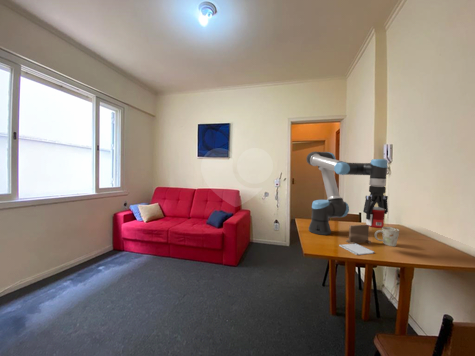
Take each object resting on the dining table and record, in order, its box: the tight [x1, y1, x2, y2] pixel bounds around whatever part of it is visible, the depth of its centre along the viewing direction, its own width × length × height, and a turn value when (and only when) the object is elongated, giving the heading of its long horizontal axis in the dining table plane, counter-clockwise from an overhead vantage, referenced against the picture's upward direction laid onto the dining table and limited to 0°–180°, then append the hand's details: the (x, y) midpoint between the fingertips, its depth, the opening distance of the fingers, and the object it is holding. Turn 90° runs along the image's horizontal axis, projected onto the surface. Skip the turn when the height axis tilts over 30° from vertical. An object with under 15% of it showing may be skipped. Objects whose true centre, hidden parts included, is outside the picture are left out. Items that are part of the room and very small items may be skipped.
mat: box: [338, 243, 375, 256], centre depth 103 cm, size 12×12×1 cm
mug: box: [374, 226, 400, 247], centre depth 112 cm, size 8×13×10 cm, turn 78°
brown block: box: [345, 224, 372, 244], centre depth 114 cm, size 5×14×11 cm, turn 103°
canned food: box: [368, 206, 385, 229], centre depth 104 cm, size 8×8×11 cm
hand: (374, 224), depth 105 cm, fingers closed on canned food, 8 cm apart
